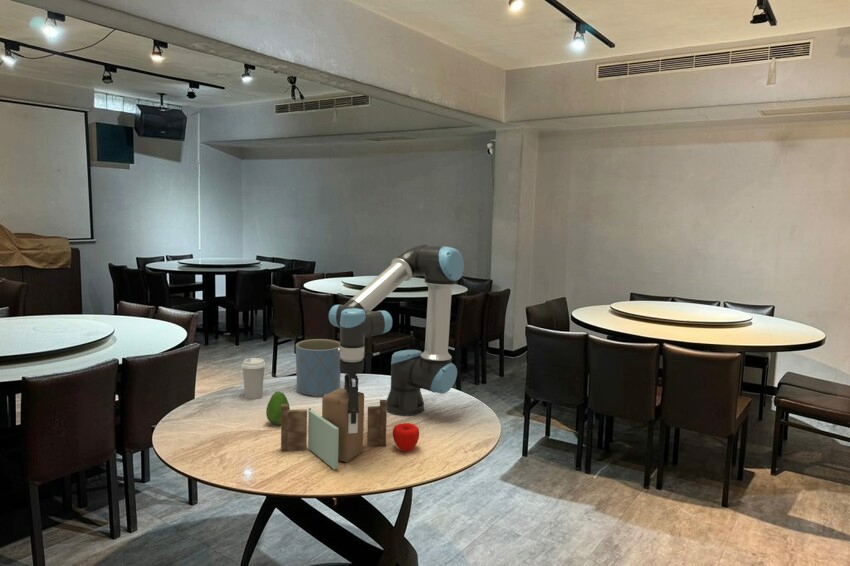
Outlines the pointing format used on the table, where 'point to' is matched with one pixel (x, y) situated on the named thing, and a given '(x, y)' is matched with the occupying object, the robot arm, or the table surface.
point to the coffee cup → (253, 377)
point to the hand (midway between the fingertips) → (350, 424)
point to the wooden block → (344, 422)
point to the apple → (406, 436)
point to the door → (323, 438)
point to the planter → (317, 366)
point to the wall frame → (297, 427)
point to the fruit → (276, 407)
